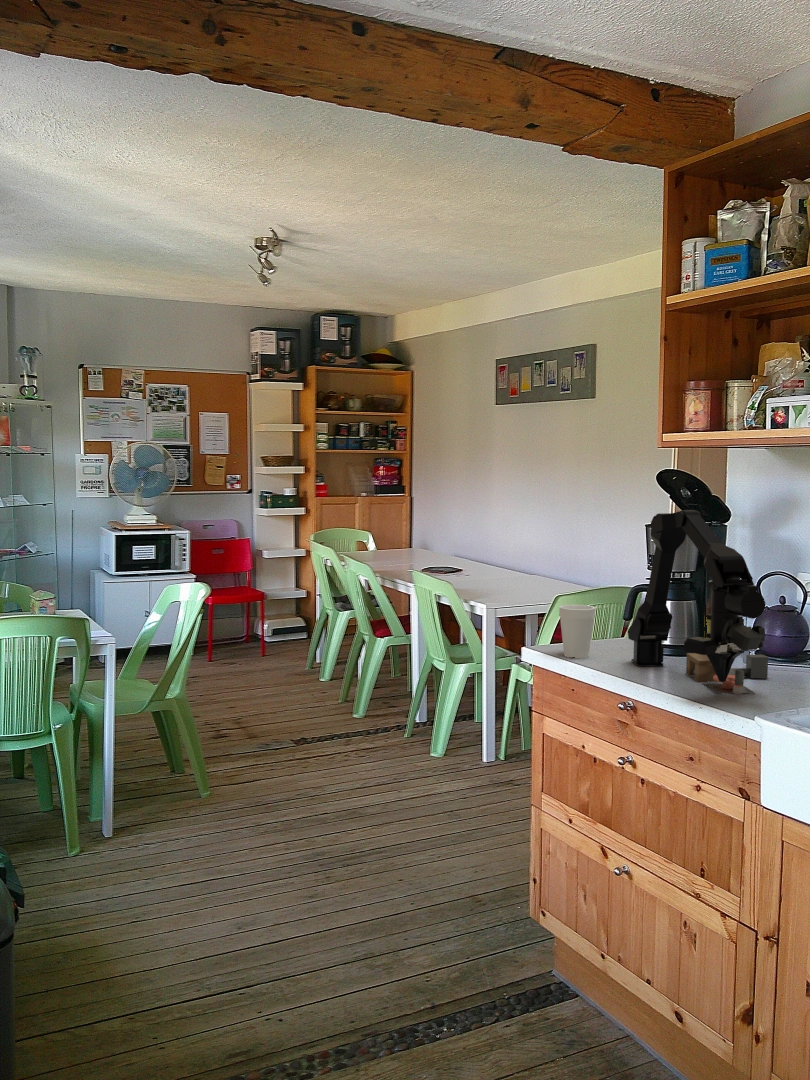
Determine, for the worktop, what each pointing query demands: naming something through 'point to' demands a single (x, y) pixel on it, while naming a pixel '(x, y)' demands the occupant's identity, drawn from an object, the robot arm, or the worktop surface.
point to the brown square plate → (718, 689)
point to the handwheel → (732, 680)
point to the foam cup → (576, 629)
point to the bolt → (752, 667)
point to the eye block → (700, 667)
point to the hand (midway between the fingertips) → (722, 681)
